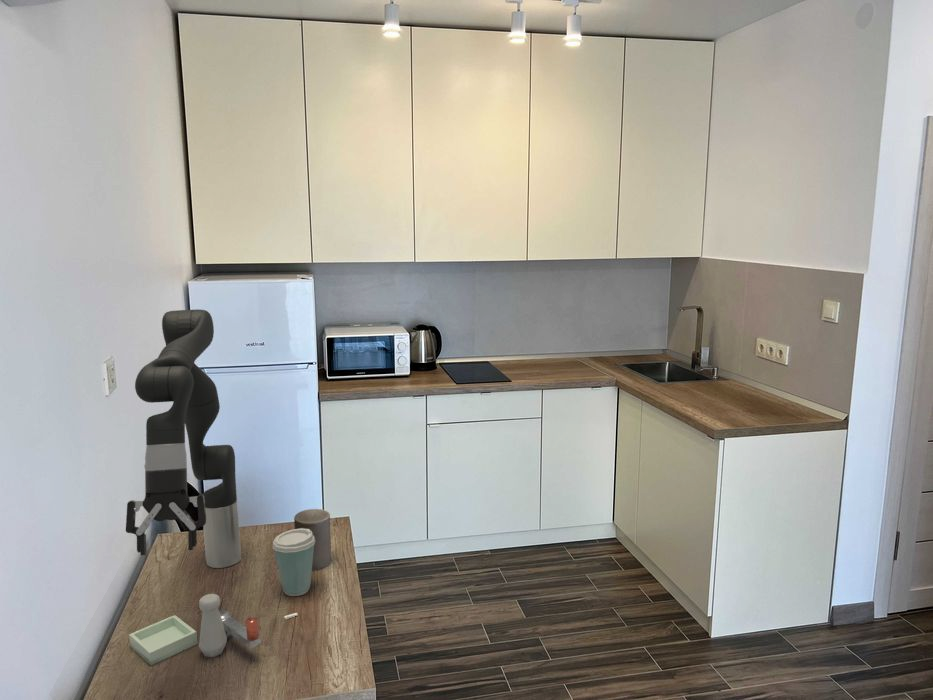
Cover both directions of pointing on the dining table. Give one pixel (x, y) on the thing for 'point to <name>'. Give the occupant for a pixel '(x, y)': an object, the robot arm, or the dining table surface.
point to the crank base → (228, 635)
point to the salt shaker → (211, 627)
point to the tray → (163, 639)
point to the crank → (241, 629)
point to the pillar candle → (317, 534)
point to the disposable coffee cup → (294, 560)
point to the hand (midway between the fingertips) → (167, 552)
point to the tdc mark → (290, 616)
